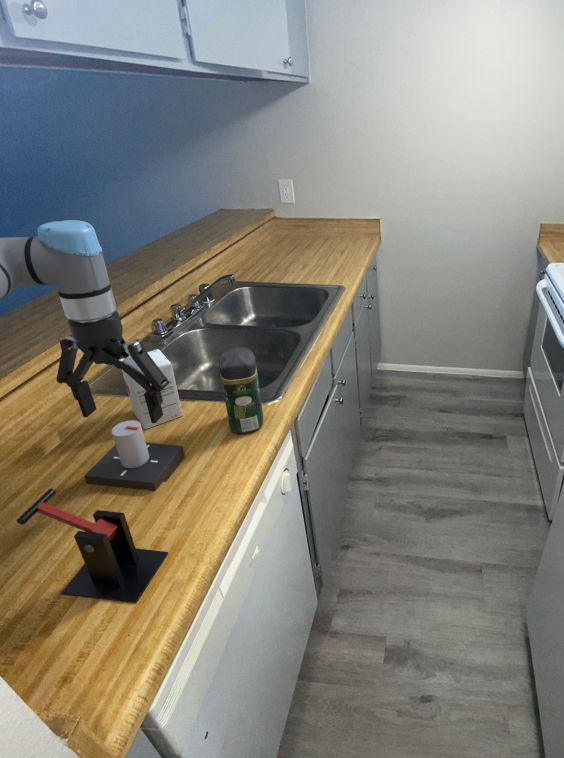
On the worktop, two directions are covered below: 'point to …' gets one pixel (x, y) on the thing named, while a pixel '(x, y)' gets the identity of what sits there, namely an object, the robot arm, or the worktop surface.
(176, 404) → the white product box
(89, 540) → the black lever stand
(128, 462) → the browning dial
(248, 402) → the coffee jar
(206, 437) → the worktop surface
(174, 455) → the dial panel
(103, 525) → the red lever
